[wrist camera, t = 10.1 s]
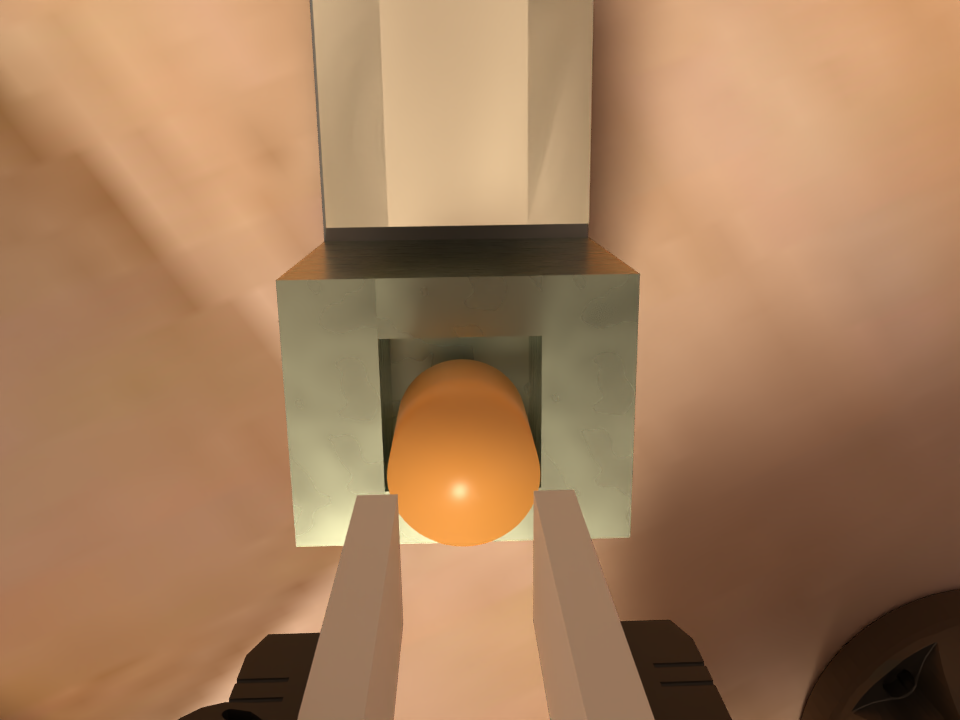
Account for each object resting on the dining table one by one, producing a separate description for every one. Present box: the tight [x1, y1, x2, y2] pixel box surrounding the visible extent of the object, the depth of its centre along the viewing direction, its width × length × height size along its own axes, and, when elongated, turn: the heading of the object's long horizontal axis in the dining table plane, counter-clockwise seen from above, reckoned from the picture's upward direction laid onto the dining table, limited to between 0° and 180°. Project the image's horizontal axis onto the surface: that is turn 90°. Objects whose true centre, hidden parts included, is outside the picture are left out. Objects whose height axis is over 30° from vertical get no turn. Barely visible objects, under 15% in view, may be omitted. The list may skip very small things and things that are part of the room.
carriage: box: [312, 0, 594, 228], centre depth 25 cm, size 7×6×10 cm
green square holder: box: [276, 237, 640, 547], centre depth 29 cm, size 10×8×10 cm
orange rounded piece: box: [387, 359, 540, 546], centre depth 22 cm, size 4×4×4 cm
